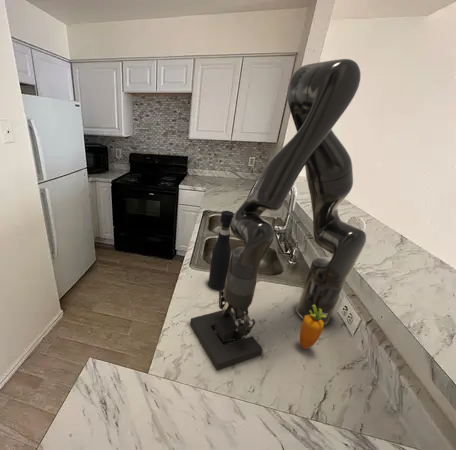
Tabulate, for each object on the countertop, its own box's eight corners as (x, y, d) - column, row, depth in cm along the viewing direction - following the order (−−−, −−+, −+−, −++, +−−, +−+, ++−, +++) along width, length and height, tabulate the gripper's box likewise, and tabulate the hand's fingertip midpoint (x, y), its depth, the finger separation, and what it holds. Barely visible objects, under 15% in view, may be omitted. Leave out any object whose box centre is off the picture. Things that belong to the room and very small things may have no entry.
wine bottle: (209, 290, 94) (219, 216, 81) (207, 279, 100) (216, 208, 87) (227, 291, 94) (239, 217, 81) (223, 280, 100) (235, 209, 87)
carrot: (316, 357, 70) (333, 317, 63) (296, 354, 71) (311, 314, 64) (310, 342, 74) (325, 303, 68) (291, 339, 75) (305, 300, 68)
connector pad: (237, 322, 78) (238, 313, 76) (247, 335, 74) (249, 326, 72) (214, 328, 76) (215, 320, 74) (223, 342, 71) (225, 333, 70)
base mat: (228, 313, 84) (229, 308, 83) (261, 355, 70) (263, 348, 69) (190, 324, 80) (190, 318, 79) (217, 370, 66) (218, 363, 65)
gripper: (270, 300, 62) (257, 347, 70) (236, 267, 74) (227, 311, 82) (244, 306, 60) (234, 355, 67) (213, 272, 72) (207, 316, 79)
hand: (230, 330), depth 74 cm, fingers closed on connector pad, 5 cm apart
